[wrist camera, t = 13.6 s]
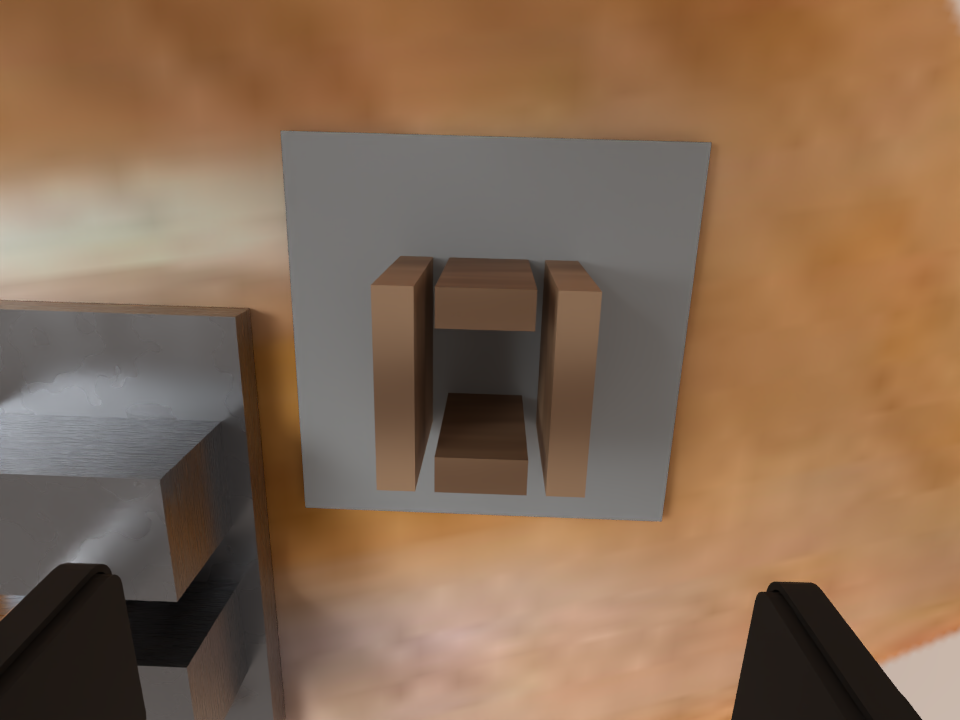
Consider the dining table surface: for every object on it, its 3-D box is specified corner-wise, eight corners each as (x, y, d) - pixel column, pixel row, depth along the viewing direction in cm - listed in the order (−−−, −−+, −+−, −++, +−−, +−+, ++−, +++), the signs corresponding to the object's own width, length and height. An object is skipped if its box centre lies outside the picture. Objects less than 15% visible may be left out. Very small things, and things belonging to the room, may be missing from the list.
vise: (-34, 299, 26) (-537, 431, 14) (249, 308, 26) (9, 452, 13) (59, 708, 33) (-219, 1055, 20) (285, 718, 33) (148, 1076, 20)
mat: (285, 131, 24) (280, 130, 23) (706, 142, 24) (711, 142, 23) (309, 500, 29) (305, 507, 28) (658, 514, 29) (661, 521, 28)
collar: (400, 255, 25) (370, 285, 19) (578, 261, 25) (602, 291, 19) (402, 419, 27) (376, 490, 21) (566, 425, 27) (584, 497, 21)
